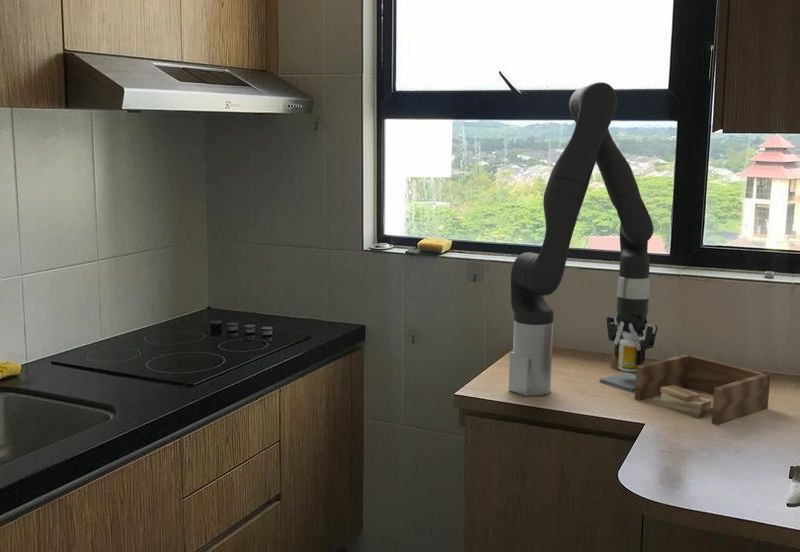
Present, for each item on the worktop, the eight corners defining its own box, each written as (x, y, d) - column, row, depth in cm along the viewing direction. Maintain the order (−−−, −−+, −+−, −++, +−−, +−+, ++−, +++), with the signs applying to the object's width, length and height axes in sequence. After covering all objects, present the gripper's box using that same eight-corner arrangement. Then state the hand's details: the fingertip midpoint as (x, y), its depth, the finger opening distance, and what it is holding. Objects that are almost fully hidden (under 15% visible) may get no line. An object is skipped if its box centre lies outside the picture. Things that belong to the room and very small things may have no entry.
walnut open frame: (717, 425, 190) (720, 389, 188) (634, 399, 207) (636, 366, 206) (767, 408, 201) (770, 374, 200) (685, 385, 219) (687, 353, 217)
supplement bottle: (613, 367, 220) (615, 330, 219) (630, 365, 223) (632, 328, 221) (628, 373, 216) (630, 335, 214) (645, 370, 218) (647, 332, 216)
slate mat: (631, 392, 213) (632, 388, 212) (599, 382, 220) (599, 378, 220) (657, 384, 219) (657, 381, 218) (625, 375, 226) (625, 372, 226)
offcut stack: (698, 418, 194) (699, 400, 193) (652, 404, 203) (654, 387, 203) (713, 413, 197) (714, 395, 197) (668, 400, 207) (669, 382, 206)
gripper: (599, 291, 219) (596, 357, 222) (647, 301, 208) (643, 371, 211) (619, 288, 224) (615, 353, 227) (667, 297, 212) (663, 365, 216)
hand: (629, 361), depth 219 cm, fingers closed on supplement bottle, 5 cm apart
